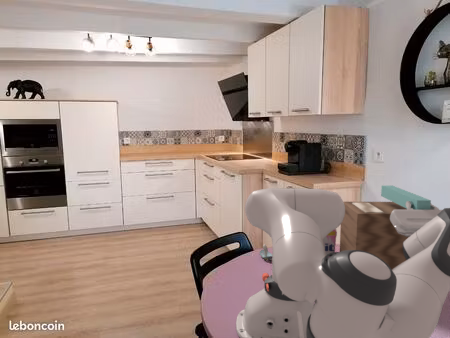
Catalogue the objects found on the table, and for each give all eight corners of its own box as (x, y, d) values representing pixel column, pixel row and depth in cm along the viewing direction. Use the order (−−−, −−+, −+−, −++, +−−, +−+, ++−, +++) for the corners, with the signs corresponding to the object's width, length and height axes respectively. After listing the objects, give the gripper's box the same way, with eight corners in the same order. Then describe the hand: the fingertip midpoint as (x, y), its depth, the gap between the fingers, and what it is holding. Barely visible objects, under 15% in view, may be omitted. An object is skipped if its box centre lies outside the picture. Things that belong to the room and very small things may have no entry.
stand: (354, 287, 117) (357, 212, 114) (339, 265, 135) (341, 200, 132) (419, 288, 116) (424, 213, 113) (395, 266, 134) (399, 201, 131)
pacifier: (271, 254, 148) (258, 255, 146) (271, 240, 147) (258, 241, 146) (277, 261, 141) (264, 262, 139) (278, 246, 140) (264, 247, 139)
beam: (416, 213, 103) (417, 200, 102) (381, 195, 129) (381, 185, 128) (429, 213, 103) (430, 200, 102) (391, 196, 129) (392, 185, 128)
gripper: (396, 243, 98) (380, 209, 109) (470, 244, 97) (446, 210, 108) (402, 228, 94) (385, 195, 105) (479, 229, 93) (454, 195, 104)
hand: (417, 202), depth 106 cm, fingers closed on beam, 4 cm apart
